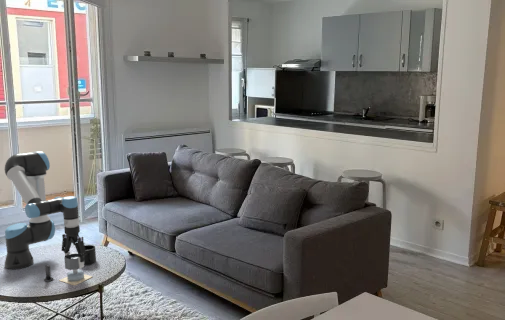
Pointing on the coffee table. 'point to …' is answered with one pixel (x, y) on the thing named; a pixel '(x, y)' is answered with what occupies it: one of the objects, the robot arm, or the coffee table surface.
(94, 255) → the black cup
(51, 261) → the coffee table surface
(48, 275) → the stand
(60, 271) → the coffee table surface
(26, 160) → the robot arm
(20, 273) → the coffee table surface
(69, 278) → the hub
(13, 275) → the coffee table surface
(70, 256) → the ring
